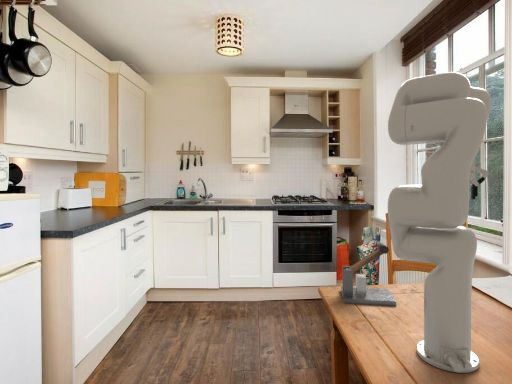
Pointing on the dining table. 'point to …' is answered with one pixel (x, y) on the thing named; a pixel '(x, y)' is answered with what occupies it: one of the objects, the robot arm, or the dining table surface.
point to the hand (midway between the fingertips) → (454, 198)
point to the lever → (370, 257)
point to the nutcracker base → (370, 292)
